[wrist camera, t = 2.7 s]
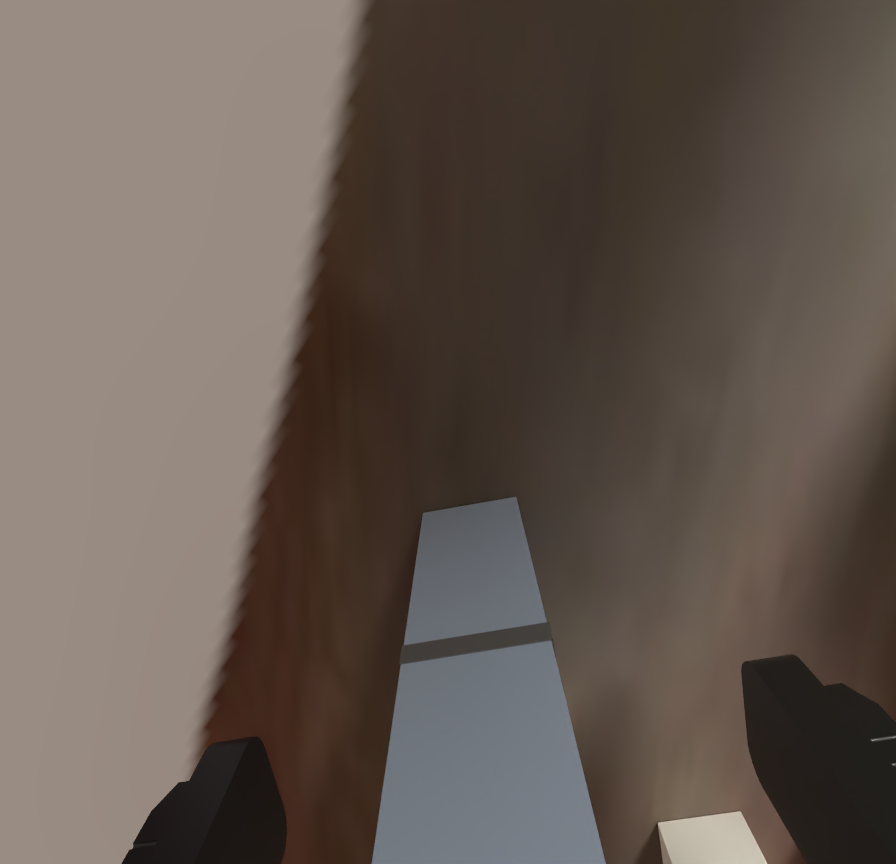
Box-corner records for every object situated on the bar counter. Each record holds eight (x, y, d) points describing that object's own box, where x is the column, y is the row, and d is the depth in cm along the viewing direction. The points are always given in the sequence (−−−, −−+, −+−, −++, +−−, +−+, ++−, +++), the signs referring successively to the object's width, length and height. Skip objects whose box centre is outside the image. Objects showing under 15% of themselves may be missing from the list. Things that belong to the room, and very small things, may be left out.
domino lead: (421, 512, 13) (321, 1176, 4) (517, 495, 13) (676, 1138, 3) (465, 710, 15) (477, 1595, 5) (552, 697, 14) (742, 1580, 5)
